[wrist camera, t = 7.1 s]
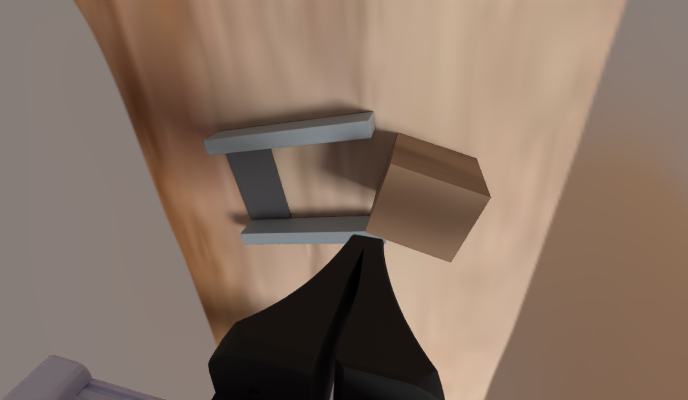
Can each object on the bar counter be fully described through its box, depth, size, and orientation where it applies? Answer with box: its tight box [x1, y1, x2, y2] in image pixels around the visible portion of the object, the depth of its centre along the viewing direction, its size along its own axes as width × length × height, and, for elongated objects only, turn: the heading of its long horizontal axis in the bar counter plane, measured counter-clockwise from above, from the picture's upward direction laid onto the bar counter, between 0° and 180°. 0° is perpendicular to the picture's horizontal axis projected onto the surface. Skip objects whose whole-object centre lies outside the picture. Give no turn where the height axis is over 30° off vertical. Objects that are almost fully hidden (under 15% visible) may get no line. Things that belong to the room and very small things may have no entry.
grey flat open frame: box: [203, 112, 386, 244], centre depth 21 cm, size 8×11×2 cm
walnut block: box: [365, 133, 491, 262], centre depth 18 cm, size 4×5×5 cm
